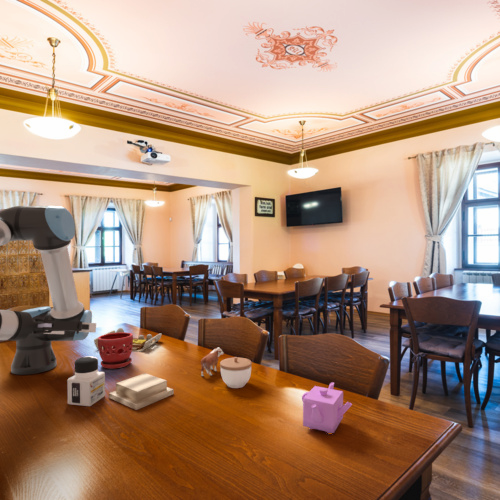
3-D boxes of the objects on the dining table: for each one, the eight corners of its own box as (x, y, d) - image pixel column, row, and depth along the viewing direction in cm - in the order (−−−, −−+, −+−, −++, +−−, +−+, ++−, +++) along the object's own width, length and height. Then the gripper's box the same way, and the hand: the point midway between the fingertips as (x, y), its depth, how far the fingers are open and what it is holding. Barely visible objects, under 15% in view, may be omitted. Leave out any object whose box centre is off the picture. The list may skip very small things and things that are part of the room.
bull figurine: (225, 367, 141) (225, 346, 141) (207, 379, 129) (207, 356, 129) (215, 365, 143) (215, 345, 143) (196, 377, 131) (196, 354, 130)
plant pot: (138, 360, 150) (138, 331, 150) (124, 371, 137) (124, 339, 137) (108, 359, 151) (107, 330, 151) (91, 370, 138) (91, 339, 138)
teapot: (342, 450, 84) (342, 408, 84) (289, 436, 90) (289, 397, 90) (359, 418, 100) (359, 382, 99) (313, 407, 106) (313, 374, 106)
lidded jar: (258, 384, 124) (258, 357, 124) (235, 393, 116) (235, 364, 116) (236, 376, 131) (235, 350, 131) (213, 385, 123) (213, 357, 123)
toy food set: (93, 351, 165) (93, 334, 165) (114, 340, 183) (113, 325, 183) (146, 353, 161) (146, 336, 161) (162, 342, 179) (161, 326, 179)
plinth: (108, 397, 113) (108, 383, 113) (146, 384, 124) (146, 370, 124) (136, 410, 105) (136, 394, 105) (173, 394, 116) (173, 380, 116)
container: (90, 406, 107) (89, 363, 107) (67, 404, 108) (66, 361, 108) (105, 396, 114) (105, 355, 114) (83, 394, 116) (83, 353, 116)
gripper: (-22, 341, 98) (50, 342, 116) (40, 338, 87) (108, 340, 106) (-17, 313, 100) (53, 318, 118) (44, 307, 89) (110, 314, 108)
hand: (79, 328), depth 112 cm, fingers open, 13 cm apart
